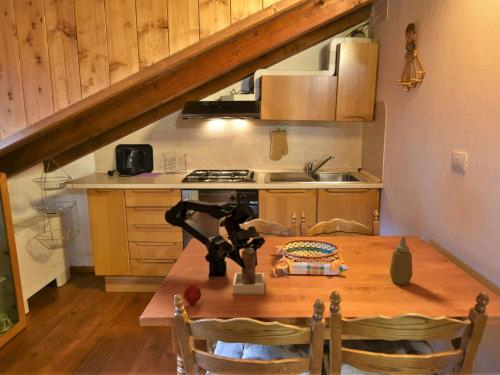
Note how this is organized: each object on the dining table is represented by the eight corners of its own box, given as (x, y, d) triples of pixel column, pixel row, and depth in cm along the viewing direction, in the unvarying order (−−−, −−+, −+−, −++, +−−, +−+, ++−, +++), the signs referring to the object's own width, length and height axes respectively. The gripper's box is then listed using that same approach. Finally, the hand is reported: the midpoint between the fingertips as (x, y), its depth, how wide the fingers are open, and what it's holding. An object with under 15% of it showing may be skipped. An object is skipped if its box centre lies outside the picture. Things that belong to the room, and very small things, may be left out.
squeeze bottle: (411, 279, 144) (414, 234, 141) (412, 288, 136) (416, 241, 133) (388, 276, 146) (391, 233, 143) (389, 285, 139) (392, 239, 136)
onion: (185, 300, 129) (184, 279, 127) (201, 299, 129) (201, 278, 128) (183, 309, 123) (182, 286, 121) (201, 308, 123) (200, 285, 122)
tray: (232, 294, 133) (232, 285, 132) (235, 281, 144) (235, 272, 143) (263, 294, 132) (263, 285, 132) (264, 281, 143) (264, 272, 143)
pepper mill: (241, 285, 136) (241, 251, 133) (242, 279, 140) (242, 247, 138) (255, 285, 135) (255, 251, 133) (255, 279, 140) (255, 247, 138)
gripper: (220, 223, 132) (237, 262, 125) (262, 216, 142) (280, 251, 135) (210, 239, 139) (225, 276, 133) (251, 230, 150) (267, 265, 143)
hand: (250, 267), depth 136 cm, fingers closed on pepper mill, 5 cm apart
